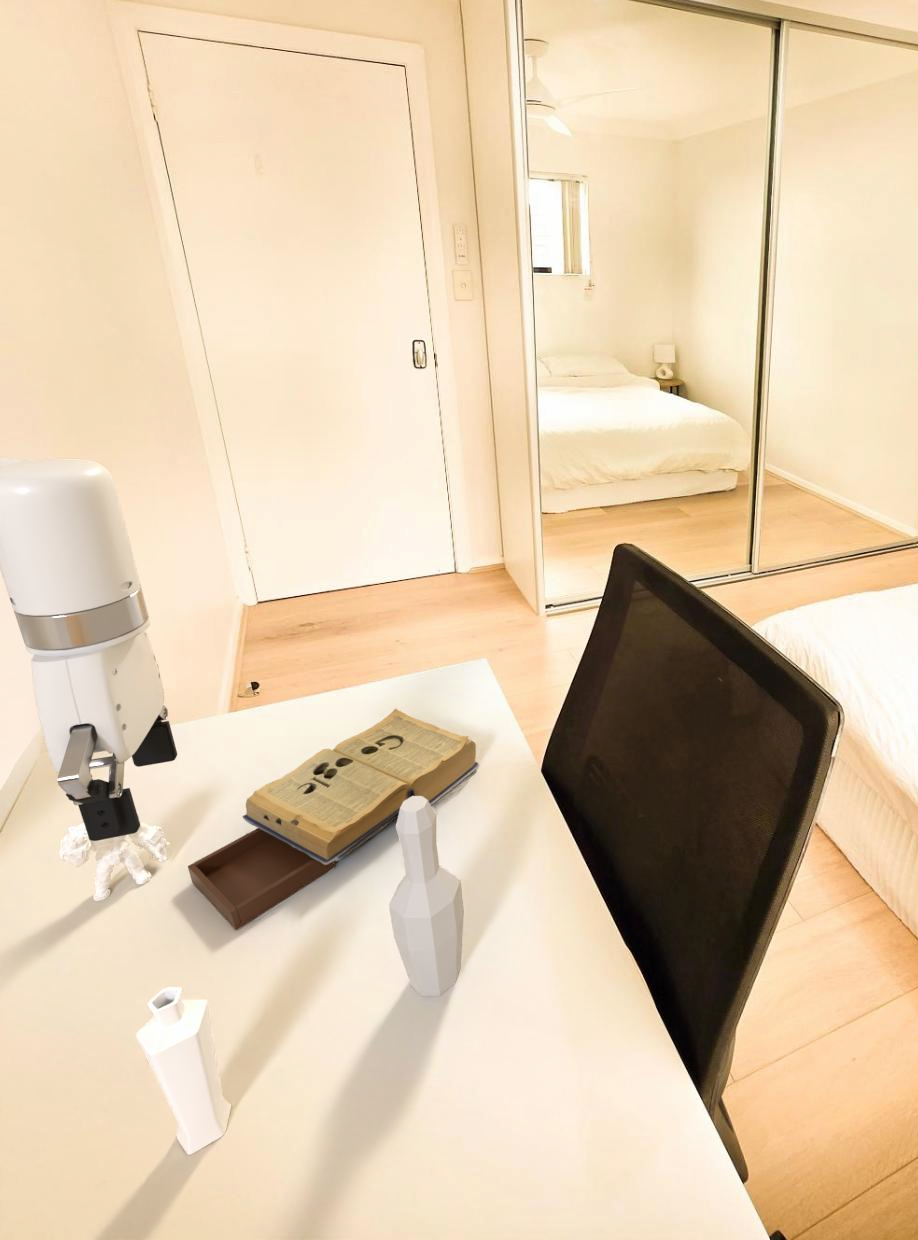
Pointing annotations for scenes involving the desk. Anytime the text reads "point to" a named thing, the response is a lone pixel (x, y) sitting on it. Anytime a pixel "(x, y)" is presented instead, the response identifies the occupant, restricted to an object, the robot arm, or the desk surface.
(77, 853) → the figurine
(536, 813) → the desk surface
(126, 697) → the robot arm
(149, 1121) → the desk surface
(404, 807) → the low poly bottle
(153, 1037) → the white faceted vase
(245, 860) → the tray
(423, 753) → the book
